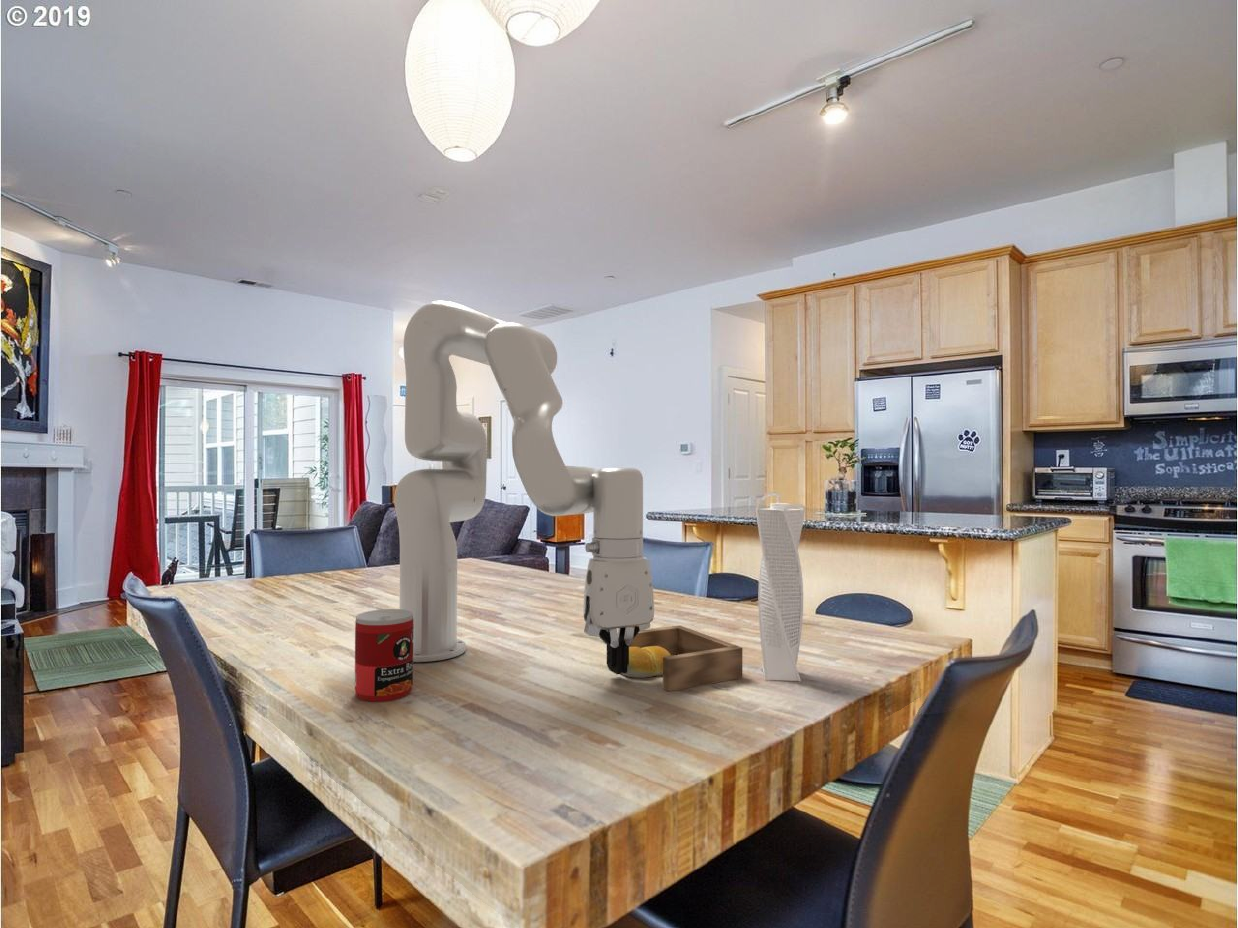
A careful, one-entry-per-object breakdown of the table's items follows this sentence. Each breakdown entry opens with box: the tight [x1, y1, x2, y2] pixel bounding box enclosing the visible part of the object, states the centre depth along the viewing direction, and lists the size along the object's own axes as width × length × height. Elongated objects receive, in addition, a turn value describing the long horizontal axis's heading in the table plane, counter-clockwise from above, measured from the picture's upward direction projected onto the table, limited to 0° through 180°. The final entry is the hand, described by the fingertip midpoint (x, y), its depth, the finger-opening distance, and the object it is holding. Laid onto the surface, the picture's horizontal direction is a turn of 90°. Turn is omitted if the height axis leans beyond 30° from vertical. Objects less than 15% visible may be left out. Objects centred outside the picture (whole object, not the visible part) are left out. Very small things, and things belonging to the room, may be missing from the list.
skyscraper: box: [755, 492, 806, 682], centre depth 100 cm, size 8×8×28 cm
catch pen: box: [629, 625, 743, 692], centre depth 102 cm, size 13×17×4 cm
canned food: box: [354, 608, 414, 703], centre depth 91 cm, size 8×8×11 cm
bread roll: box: [621, 646, 672, 679], centre depth 102 cm, size 8×9×4 cm
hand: (617, 671), depth 97 cm, fingers closed
